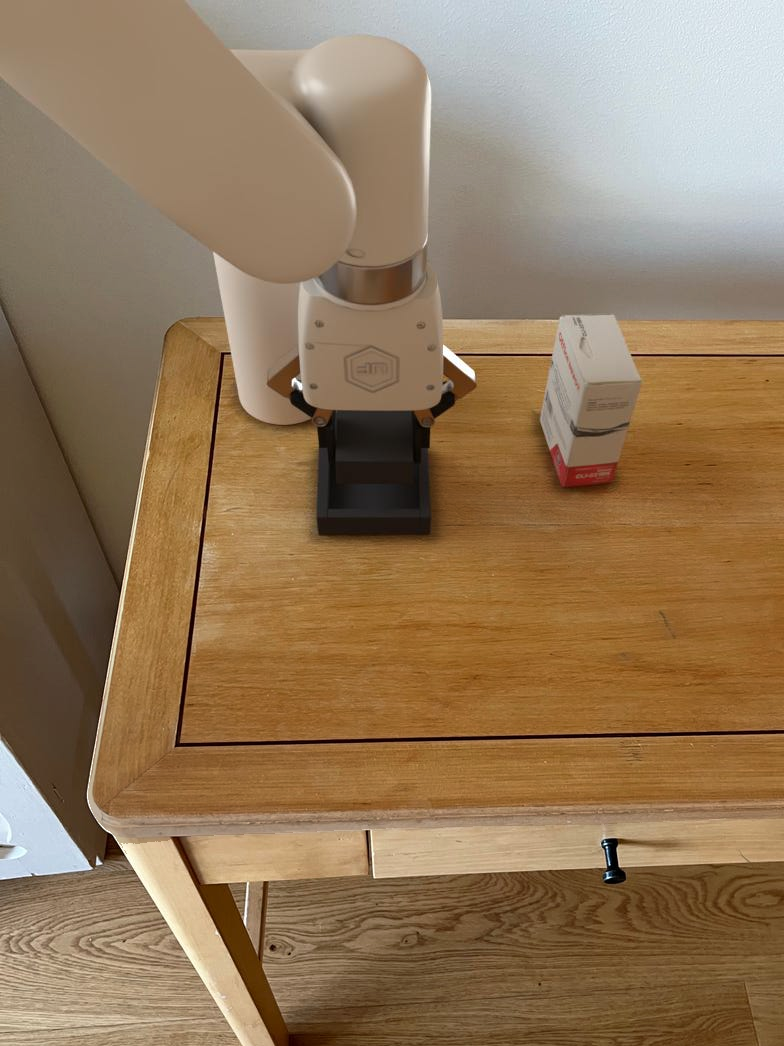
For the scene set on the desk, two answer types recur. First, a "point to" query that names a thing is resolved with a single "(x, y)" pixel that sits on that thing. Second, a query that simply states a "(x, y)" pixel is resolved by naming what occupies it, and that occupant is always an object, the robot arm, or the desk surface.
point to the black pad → (374, 447)
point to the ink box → (588, 398)
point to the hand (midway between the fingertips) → (374, 449)
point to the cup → (259, 338)
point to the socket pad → (373, 503)
